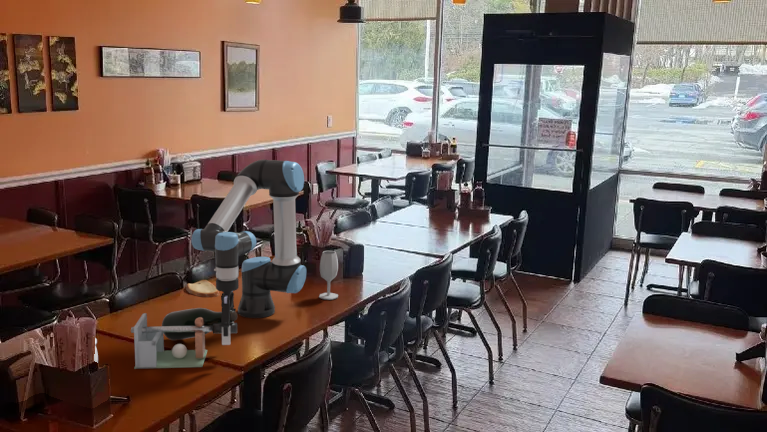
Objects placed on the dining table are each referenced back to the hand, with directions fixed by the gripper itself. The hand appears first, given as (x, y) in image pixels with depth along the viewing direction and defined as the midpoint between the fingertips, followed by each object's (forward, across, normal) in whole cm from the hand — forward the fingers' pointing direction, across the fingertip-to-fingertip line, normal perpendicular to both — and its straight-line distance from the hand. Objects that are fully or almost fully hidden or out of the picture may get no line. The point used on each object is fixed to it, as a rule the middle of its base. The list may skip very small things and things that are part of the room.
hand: (228, 337), depth 236 cm
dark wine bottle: (+3, -20, -22) cm, 30 cm away
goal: (+8, 0, -26) cm, 27 cm away
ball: (+5, 0, -16) cm, 17 cm away
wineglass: (+8, -67, +38) cm, 77 cm away
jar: (+8, +20, -43) cm, 48 cm away
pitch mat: (+8, 0, -19) cm, 21 cm away
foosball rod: (+6, 0, -15) cm, 16 cm away
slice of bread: (+8, -79, -18) cm, 82 cm away
